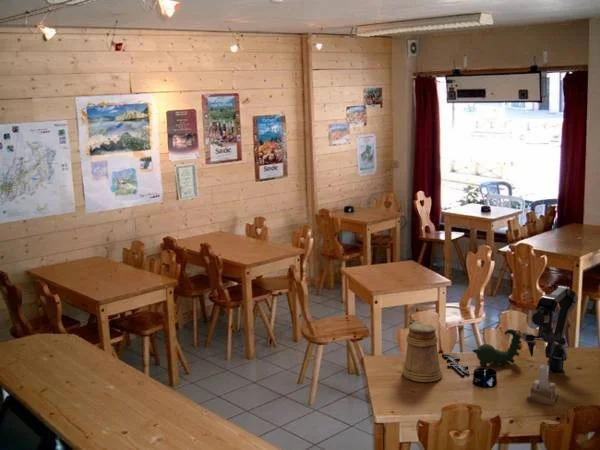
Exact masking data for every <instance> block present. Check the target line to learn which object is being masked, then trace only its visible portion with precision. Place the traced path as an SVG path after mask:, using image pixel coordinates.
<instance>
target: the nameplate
mask: <svg viewBox="0 0 600 450" xmlns="http://www.w3.org/2000/svg"><path fill="white" fill-rule="evenodd" d="M441 357H442V358H443V359H444V360H446V362H447V363H449V364H450V365H449V364H448V365H446V369H453V371H455V373H457V375H459V376H460V377H461V378H465V376H467V377H470V370H468V369H469V366H468V365H463V364H459V362H460V361H461V358H460V357H456V355H452V354H450V353H449V354H447V353H442V354H441Z"/></svg>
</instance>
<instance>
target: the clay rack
mask: <svg viewBox="0 0 600 450" xmlns="http://www.w3.org/2000/svg"><path fill="white" fill-rule="evenodd" d="M558 395H559V391H557V390H556V383H555V382H550V383H549V384H548V389H547V391H546V390H540V389H539V379H535V380H534V382H533V383H532V385H531V387H530V390H529V393H528V395H527V397H526V401H528V402H533V403H539V404H545V405H549V406H554V404H555V402H556V400H557V399H558V398H557V397H558Z"/></svg>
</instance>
